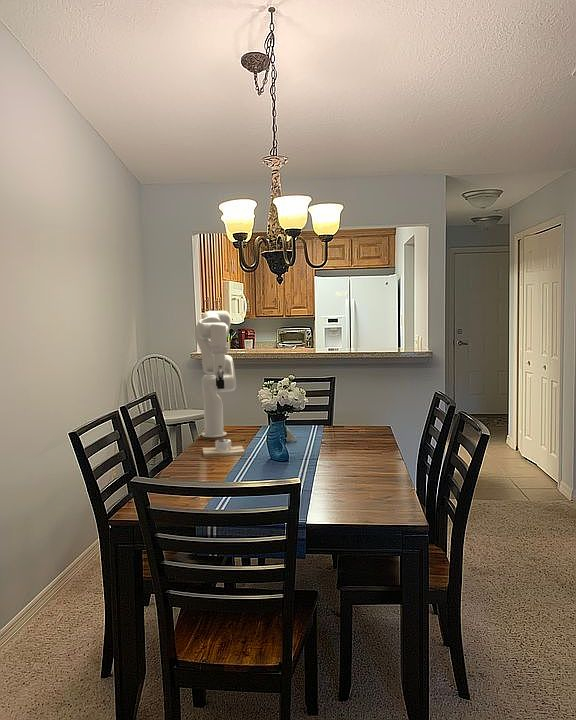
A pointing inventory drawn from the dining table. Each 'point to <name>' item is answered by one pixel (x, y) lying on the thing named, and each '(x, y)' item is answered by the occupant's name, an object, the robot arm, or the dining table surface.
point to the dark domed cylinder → (223, 440)
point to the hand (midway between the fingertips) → (220, 387)
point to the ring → (223, 445)
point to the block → (213, 453)
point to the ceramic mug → (290, 436)
